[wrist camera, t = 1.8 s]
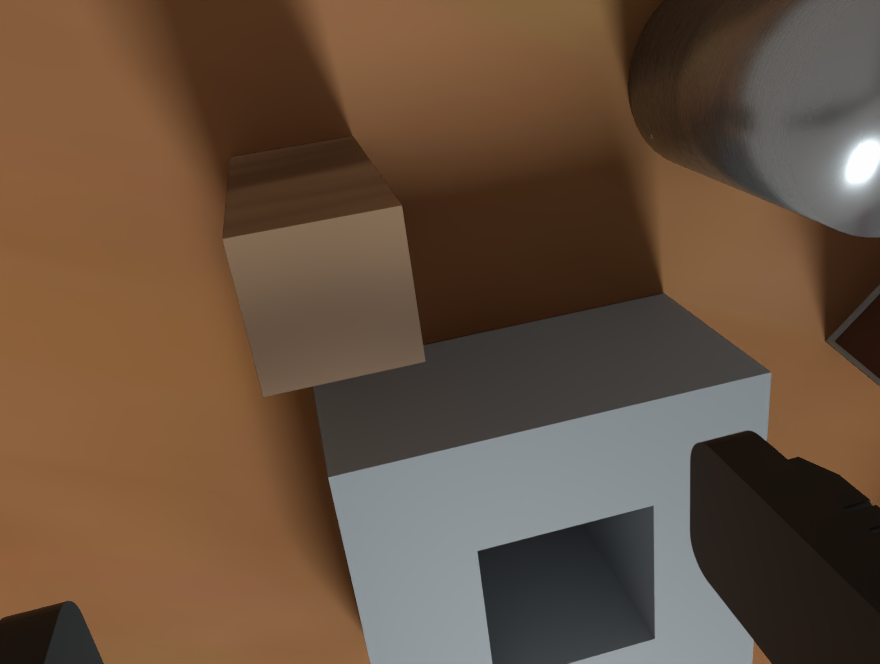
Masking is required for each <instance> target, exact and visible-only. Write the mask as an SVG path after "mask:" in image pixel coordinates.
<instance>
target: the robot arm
mask: <svg viewBox="0 0 880 664" xmlns="http://www.w3.org/2000/svg"><path fill="white" fill-rule="evenodd" d="M690 539H691V545H692V549H693V553H694V556H695V558H696V561H697V563H698V566H699V568H700V570H701V572H702V574H703V575H704V577H705V578H706V580H707V581H708V583H709V584H710V585H711V586H712V588H713V589H714V590H715V591H716V593H717V594H718V595H719V597H720V598H721V599H722V600H723V602H724V603H725V604H726V606H727V607H728V608H729V609H730V611H731V612H732V613H733V614H734V616H735V617H736V618H737V620H738V621H739V622H740V623H741V625H742V626H743V627H744V628H745V630H746V631H747V632H748V634H749V635H750V636H751V637H752V639H753V640H754V641H755V642H756V644H757V645H758V646H759V648H760V649H761V650H762V651H763V653H764V654H765V655H766V657H767V658H768V659H769V660H770V662H771V663H772V664H880V508H879V507H878V506H877V505H874V506H872V505H871V503H870V500H869V499H868V498H867V497H866V496H864V495H863V494H862V493H861V492H860V491H858V490H857V489H856V488H855V487H853V486H852V485H851V484H850V483H849V482H847V481H846V480H845V479H844V478H842V477H841V476H840V475H838V474H836V473H834V472H832V471H829V470H827V469H825V468H823V467H820V466H818V465H816V464H814V463H811V462H809V461H807V460H804V459H802V458H800V457H796V458H792V459H789V460H787V459H786V458H785V457H784V456H783V455H782V454H781V453H779V452H778V451H777V450H776V449H775V448H774V447H772V446H771V445H770V444H769V443H768V442H767V441H765V440H764V439H763V438H762V437H761V436H760V435H758V434H757V433H755V432H753V431H749V430H747V431H742V432H738V433H734V434H730V435H727V436H723V437H719V438H715V439H711V440H707V441H703V442H699V443H696V444H695V445H694V446H693V448H692V450H691V455H690ZM0 664H104V663H103V661H102V659H101V656H100V654H99V652H98V650H97V647H96V645H95V643H94V640H93V638H92V636H91V634H90V631H89V629H88V627H87V624H86V622H85V620H84V618H83V615H82V613H81V611H80V609H79V608H78V606H77V605H76V604H75V603H73V602H72V601H66V602H63V603H59V604H55V605H51V606H47V607H43V608H39V609H35V610H31V611H27V612H23V613H19V614H15V615H11V616H7V617H4V618H2V619H1V620H0Z"/></svg>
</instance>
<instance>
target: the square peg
mask: <svg viewBox="0 0 880 664" xmlns="http://www.w3.org/2000/svg"><path fill="white" fill-rule="evenodd" d="M223 243H224V247H225V251H226V255H227V259H228V262H229V266H230V270H231V274H232V278H233V282H234V286H235V289H236V293H237V297H238V301H239V305H240V309H241V313H242V316H243V320H244V324H245V328H246V332H247V336H248V340H249V344H250V347H251V351H252V355H253V359H254V363H255V367H256V371H257V374H258V378H259V382H260V386H261V390H262V394H263V397H267V396H271V395H276V394H281V393H285V392H290V391H294V390H299V389H303V388H308V387H312V386H317V385H322V384H326V383H331V382H335V381H340V380H344V379H349V378H354V377H358V376H363V375H367V374H372V373H376V372H381V371H385V370H390V369H395V368H399V367H404V366H408V365H413V364H417V363H422V362H426V361H425V354H424V348H423V341H422V334H421V328H420V321H419V315H418V308H417V301H416V295H415V288H414V282H413V275H412V268H411V262H410V255H409V248H408V242H407V235H406V229H405V222H404V215H403V209H402V205H401V203H400V202H399V201H398V199H397V198H396V196H395V195H394V193H393V192H392V191H391V189H390V188H389V186H388V185H387V184H386V182H385V181H384V179H383V178H382V177H381V175H380V174H379V172H378V171H377V170H376V168H375V167H374V165H373V164H372V163H371V161H370V160H369V158H368V157H367V155H366V154H365V153H364V151H363V150H362V148H361V147H360V146H359V144H358V143H357V141H356V140H355V139H354V137H353V136H351V137H345V138H339V139H333V140H327V141H322V142H316V143H310V144H304V145H298V146H292V147H287V148H281V149H275V150H269V151H263V152H258V153H252V154H246V155H240V156H234V157H230V160H229V171H228V182H227V194H226V205H225V216H224V227H223Z"/></svg>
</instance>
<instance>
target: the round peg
mask: <svg viewBox="0 0 880 664" xmlns="http://www.w3.org/2000/svg"><path fill="white" fill-rule="evenodd" d="M628 89H629V101H630V106H631V111H632V115H633V118H634V120H635V123H636V126H637V128H638V129H639V131H640V133H641V135H642V136H643V138H644V139H645V141H646V142H647V143H648V144H649V145H650V146H651V148H652V149H653V150H654V151H656V152H657V153H658V154H660V155H661V156H662V157H664V158H666V159H668V160H669V161H671V162H674V163H676V164H678V165H681V166H683V167H686V168H688V169H690V170H693V171H695V172H698V173H700V174H703V175H705V176H707V177H710V178H712V179H715V180H717V181H720V182H722V183H724V184H727V185H729V186H732V187H734V188H736V189H739V190H741V191H744V192H746V193H749V194H751V195H753V196H756V197H758V198H761V199H763V200H765V201H768V202H770V203H773V204H775V205H778V206H780V207H782V208H785V209H787V210H790V211H792V212H795V213H797V214H799V215H802V216H804V217H807V218H809V219H811V220H814V221H816V222H819V223H821V224H824V225H826V226H828V227H831V228H833V229H836V230H838V231H841V232H844V233H847V234H850V235H853V236H860V237H880V0H664V1H663V2H662V3H661V5H660V6H659V7H658V8H657V9H656V10H655V12H654V13H653V14H652V16H651V17H650V19H649V20H648V22H647V23H646V25H645V27H644V29H643V31H642V33H641V35H640V37H639V39H638V42H637V44H636V47H635V49H634V53H633V57H632V60H631V65H630V72H629V87H628Z"/></svg>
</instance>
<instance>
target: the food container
mask: <svg viewBox="0 0 880 664" xmlns="http://www.w3.org/2000/svg"><path fill="white" fill-rule="evenodd" d="M825 342H827V343H828V344H829V345H830V346H831V347H833V348H834V349H835V350H836V351H838V352H839V353H840V354H841V355H842V356H844V357H845V358H846V359H847V360H848V361H850V362H851V363H852V364H853V365H854V366H856V367H857V368H858V369H859V370H860V371H862V372H863V373H864V374H865V375H867V376H868V377H869V378H870V379H871V380H873V381H874V382H875V383H876V384H877V385H879V386H880V284H879V285H878V287H877V288H876V289H875V290H874V291H873V292H872V293H871V294H870V295H869V296H868V297H867V298H866V299H865V300H864V301H863V302H862V303H861V304H860V305H859V307H858V308H857V309H856V310H855V311H854V312H853V313H852V314H851V315H850V316H849V317H848V318H847V319H846V320H845V321H844V322H843V323H842V324H841V326H840V327H839V328H838V329H837V330H836V331H835V332H834V333H833V334H832V335H831V336H830V337H829V338H828V339H827V340H826V341H825Z"/></svg>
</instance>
